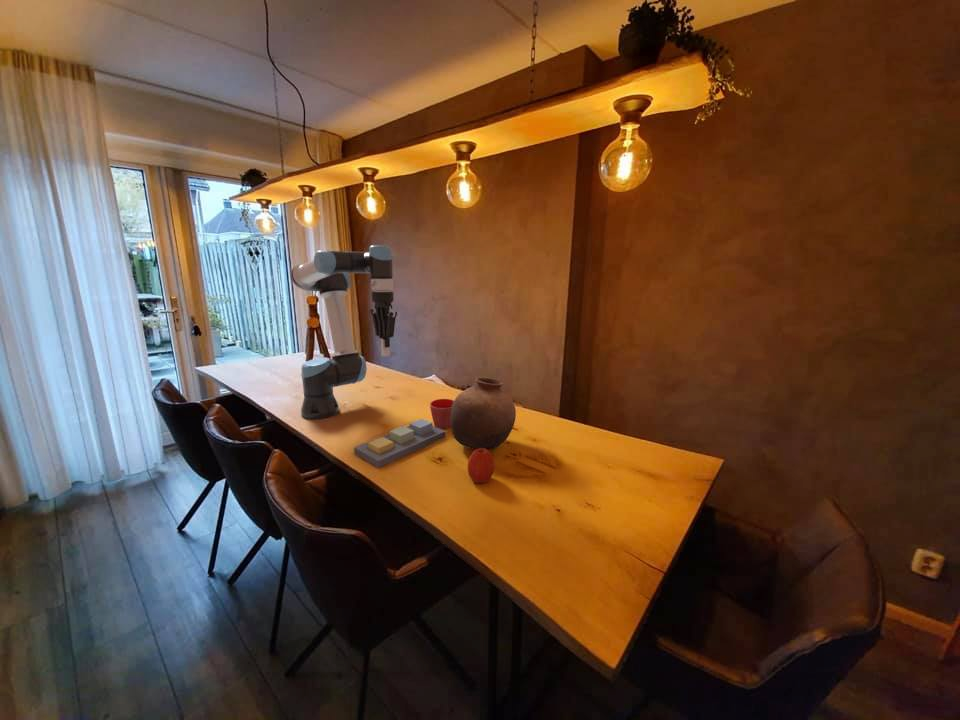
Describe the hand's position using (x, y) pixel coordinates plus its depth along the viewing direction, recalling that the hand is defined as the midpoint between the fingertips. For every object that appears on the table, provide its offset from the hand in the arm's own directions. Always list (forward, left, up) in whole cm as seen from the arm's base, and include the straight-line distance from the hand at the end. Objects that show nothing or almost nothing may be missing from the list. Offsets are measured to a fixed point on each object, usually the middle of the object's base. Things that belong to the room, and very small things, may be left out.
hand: (385, 355), depth 140 cm
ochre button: (+13, -13, -30) cm, 35 cm away
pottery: (+35, +15, -31) cm, 49 cm away
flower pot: (+12, +18, -31) cm, 37 cm away
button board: (+13, -4, -30) cm, 33 cm away
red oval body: (+49, -3, -31) cm, 58 cm away
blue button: (+13, +5, -28) cm, 32 cm away
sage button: (+13, -4, -28) cm, 31 cm away
